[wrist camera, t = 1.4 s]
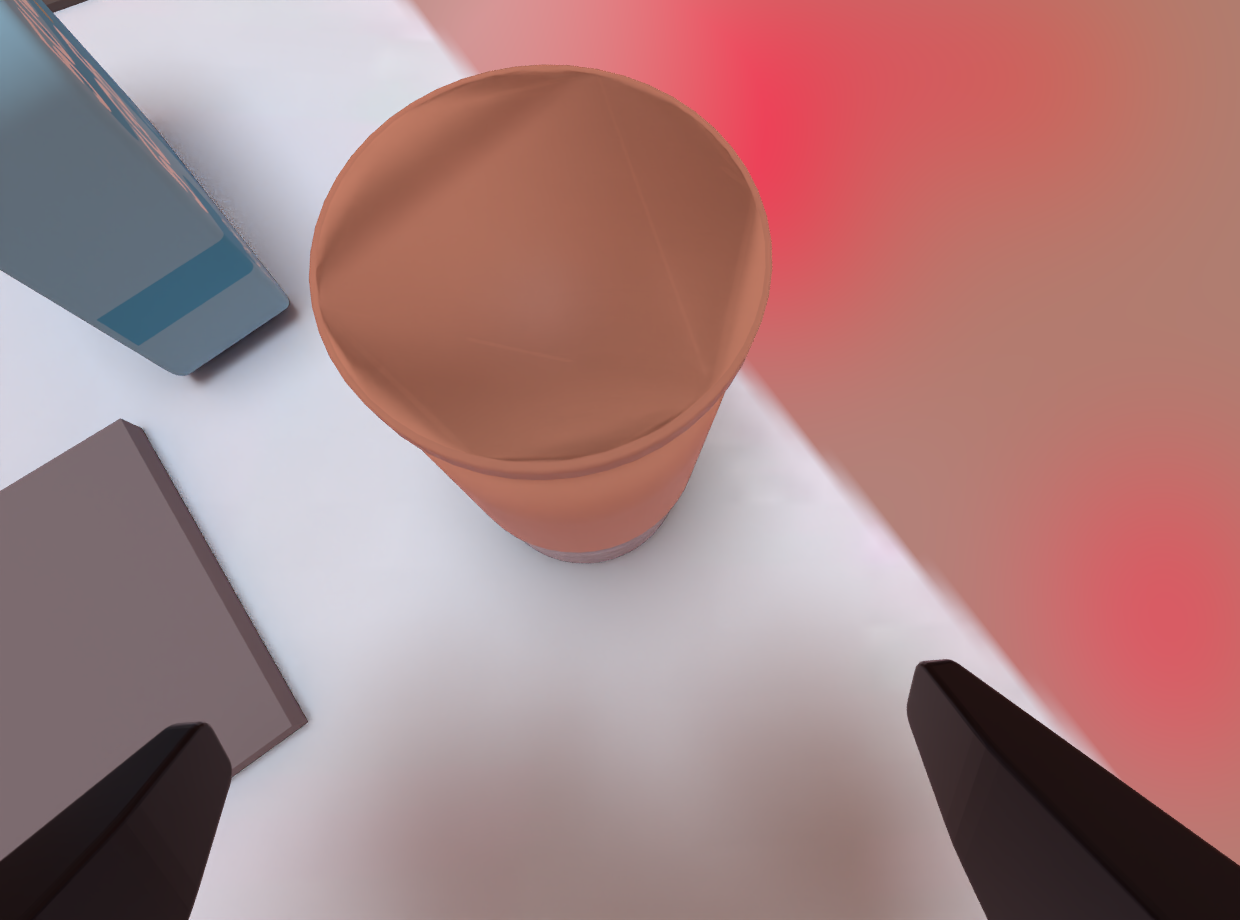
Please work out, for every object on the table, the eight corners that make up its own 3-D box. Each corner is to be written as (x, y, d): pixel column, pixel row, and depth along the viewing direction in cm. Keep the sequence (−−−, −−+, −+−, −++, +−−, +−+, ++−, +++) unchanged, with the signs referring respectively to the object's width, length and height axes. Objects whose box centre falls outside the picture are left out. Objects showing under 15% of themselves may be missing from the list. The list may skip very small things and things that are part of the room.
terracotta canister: (749, 472, 18) (866, 315, 10) (531, 605, 17) (441, 565, 8) (619, 284, 20) (617, 4, 11) (413, 396, 19) (237, 183, 10)
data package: (306, 319, 24) (14, 18, 12) (199, 392, 23) (-218, 143, 12) (148, 118, 27) (-216, -288, 15) (47, 178, 26) (-421, -202, 14)
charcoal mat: (307, 721, 20) (292, 725, 19) (-70, 995, 18) (-109, 1014, 17) (141, 428, 23) (120, 418, 22) (-204, 638, 21) (-244, 638, 20)
